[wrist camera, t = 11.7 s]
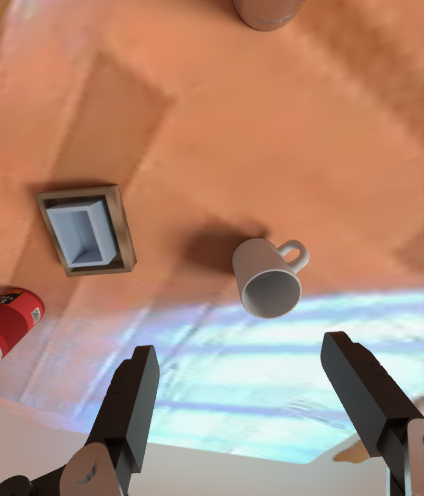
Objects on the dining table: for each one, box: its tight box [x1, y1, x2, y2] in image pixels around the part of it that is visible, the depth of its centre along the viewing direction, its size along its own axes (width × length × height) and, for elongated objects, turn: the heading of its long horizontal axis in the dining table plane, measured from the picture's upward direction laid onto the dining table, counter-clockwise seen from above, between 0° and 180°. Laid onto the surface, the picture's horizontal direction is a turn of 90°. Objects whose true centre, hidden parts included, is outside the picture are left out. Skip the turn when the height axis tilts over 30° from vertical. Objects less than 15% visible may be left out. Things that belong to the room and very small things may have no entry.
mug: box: [232, 238, 310, 319], centre depth 35 cm, size 12×8×11 cm
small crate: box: [46, 198, 120, 268], centre depth 34 cm, size 9×6×5 cm, turn 4°
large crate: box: [34, 185, 137, 277], centre depth 35 cm, size 14×11×4 cm
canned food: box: [0, 288, 45, 360], centre depth 38 cm, size 8×8×11 cm
